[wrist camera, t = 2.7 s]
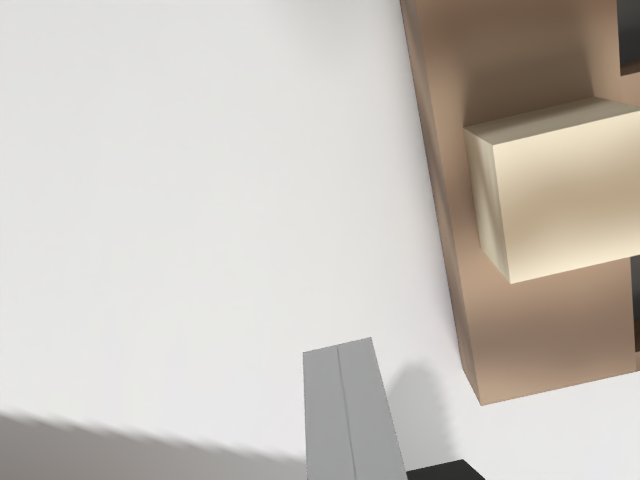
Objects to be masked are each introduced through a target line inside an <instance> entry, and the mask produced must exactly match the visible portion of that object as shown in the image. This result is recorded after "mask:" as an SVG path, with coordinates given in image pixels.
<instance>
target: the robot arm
mask: <svg viewBox="0 0 640 480" xmlns="http://www.w3.org/2000/svg"><path fill="white" fill-rule="evenodd" d="M303 374H304V404H305V434H306V464H307V480H485V478H483V477H482V476H481V475H480V474H479V473H478V472H477V471H476V470H474V469H473V468H472V467H471V466H470V465H469V464H468V463H467V462H466V461H464V460H463V459H462V460H457V461H453V462H448V463H444V464H439V465H435V466H430V467H425V468H421V469H416V470H411V471H407V472H406V471H405V468H404V463H403V459H402V455H401V452H400V448H399V444H398V440H397V436H396V432H395V428H394V425H393V420H392V417H391V413H390V409H389V405H388V401H387V397H386V393H385V389H384V385H383V382H382V378H381V374H380V370H379V366H378V362H377V358H376V354H375V351H374V347H373V343H372V339H371V337H369V338H365V339H361V340H356V341H352V342H347V343H343V344H339V345H334V346H330V347H325V348H321V349H317V350H312V351H308V352H303Z"/></svg>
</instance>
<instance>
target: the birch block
mask: <svg viewBox="0 0 640 480" xmlns="http://www.w3.org/2000/svg"><path fill="white" fill-rule="evenodd" d="M463 131H464V138H465V145H466V152H467V159H468V165H469V172H470V179H471V186H472V193H473V199H474V206H475V213H476V220H477V227H478V233H479V240H480V247H481V250H482V251H483V252H484V253H485V254H486V255H487V257H488V258H489V259H490V260H491V261H492V263H493V264H494V265H495V266H496V267H497V268H498V270H499V271H500V272H501V273H502V274H503V276H504V277H505V278H506V279H507V280H508V281H509V283H510V284H513V283H517V282H522V281H526V280H530V279H535V278H539V277H544V276H548V275H552V274H557V273H561V272H565V271H570V270H574V269H579V268H583V267H587V266H592V265H596V264H601V263H605V262H609V261H614V260H618V259H622V258H627V257H631V256H636V255H640V107H637V106H633V105H629V104H625V103H620V102H616V101H612V100H608V99H603V98H599V97H595V96H594V97H590V98H586V99H582V100H578V101H573V102H569V103H565V104H561V105H557V106H552V107H548V108H544V109H540V110H536V111H531V112H527V113H523V114H519V115H515V116H510V117H506V118H502V119H498V120H493V121H489V122H485V123H481V124H477V125H472V126H468V127H464V128H463Z"/></svg>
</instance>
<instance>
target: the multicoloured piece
mask: <svg viewBox="0 0 640 480" xmlns="http://www.w3.org/2000/svg"><path fill="white" fill-rule="evenodd" d="M400 4H401V10H402V16H403V22H404V28H405V34H406V39H407V45H408V51H409V57H410V63H411V69H412V75H413V80H414V86H415V92H416V98H417V104H418V110H419V115H420V121H421V127H422V133H423V139H424V145H425V150H426V156H427V162H428V168H429V174H430V180H431V186H432V191H433V197H434V203H435V209H436V215H437V221H438V226H439V232H440V238H441V244H442V250H443V256H444V261H445V267H446V273H447V279H448V285H449V291H450V297H451V302H452V308H453V314H454V320H455V326H456V332H457V337H458V343H459V349H460V355H461V361H462V367H463V371H464V373H465V375H466V377H467V379H468V381H469V383H470V385H471V387H472V389H473V391H474V393H475V395H476V397H477V399H478V401H479V403H480V405H481V406H483V405H488V404H492V403H497V402H501V401H506V400H510V399H515V398H519V397H524V396H528V395H533V394H537V393H542V392H547V391H551V390H556V389H560V388H565V387H569V386H574V385H578V384H583V383H587V382H592V381H596V380H601V379H605V378H610V377H614V376H619V375H623V374H628V373H632V372H637V371H640V255H636V256H631V257H627V258H622V259H618V260H614V261H609V262H605V263H601V264H596V265H592V266H587V267H583V268H579V269H574V270H570V271H565V272H561V273H557V274H552V275H548V276H544V277H539V278H535V279H530V280H526V281H522V282H517V283H513V284H510V283H509V281H508V280H507V279H506V278H505V277H504V276H503V274H502V273H501V272H500V271H499V270H498V268H497V267H496V266H495V265H494V264H493V263H492V261H491V260H490V259H489V258H488V257H487V255H486V254H485V253H484V252H483V251H482V250H481V247H480V240H479V233H478V227H477V220H476V213H475V206H474V199H473V193H472V186H471V179H470V172H469V165H468V159H467V152H466V145H465V138H464V131H463V128H464V127H468V126H472V125H477V124H481V123H485V122H489V121H493V120H498V119H502V118H506V117H510V116H515V115H519V114H523V113H527V112H531V111H536V110H540V109H544V108H548V107H552V106H557V105H561V104H565V103H569V102H573V101H578V100H582V99H586V98H590V97H594V96H595V97H599V98H603V99H608V100H612V101H616V102H620V103H625V104H629V105H633V106H637V107H640V0H400Z"/></svg>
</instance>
